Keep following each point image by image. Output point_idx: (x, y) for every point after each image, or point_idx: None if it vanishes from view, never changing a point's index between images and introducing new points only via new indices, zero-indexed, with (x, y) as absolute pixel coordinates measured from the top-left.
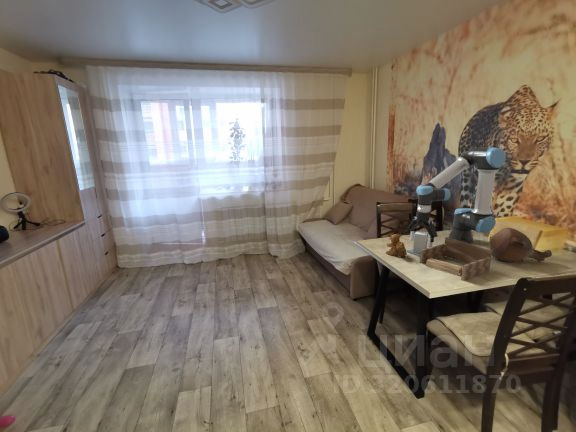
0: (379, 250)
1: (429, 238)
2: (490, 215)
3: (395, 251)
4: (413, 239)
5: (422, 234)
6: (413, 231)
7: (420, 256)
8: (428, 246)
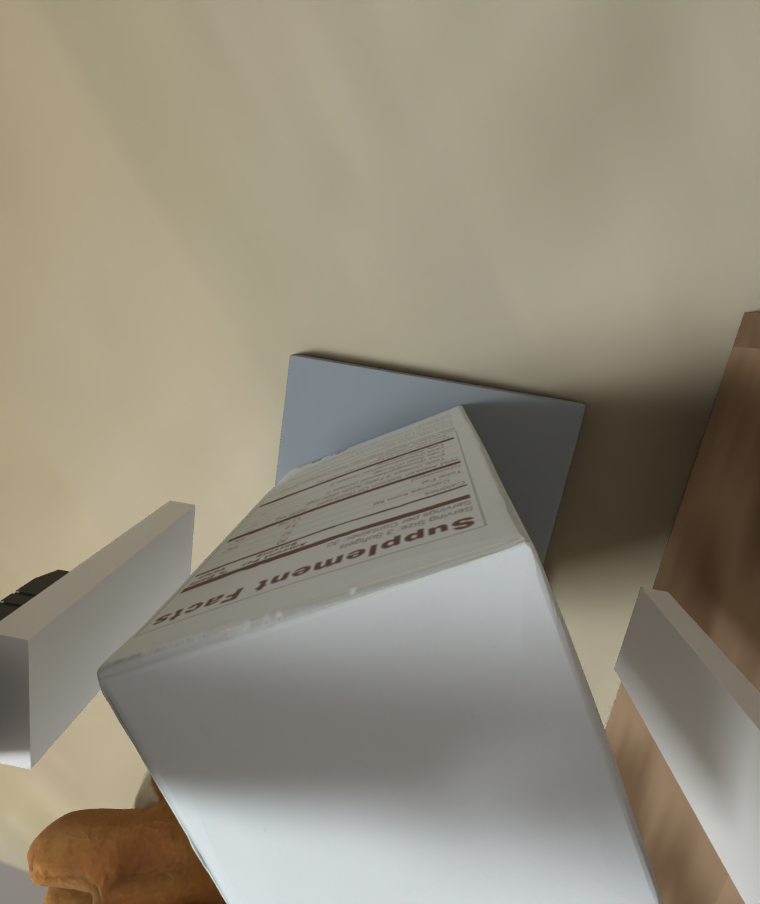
0: (38, 791)
1: (745, 874)
2: None
3: None
4: (183, 524)
5: None
6: (37, 684)
7: None
8: (629, 681)
